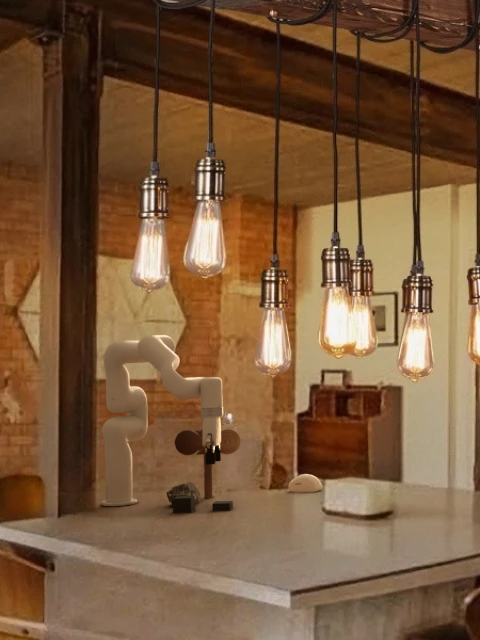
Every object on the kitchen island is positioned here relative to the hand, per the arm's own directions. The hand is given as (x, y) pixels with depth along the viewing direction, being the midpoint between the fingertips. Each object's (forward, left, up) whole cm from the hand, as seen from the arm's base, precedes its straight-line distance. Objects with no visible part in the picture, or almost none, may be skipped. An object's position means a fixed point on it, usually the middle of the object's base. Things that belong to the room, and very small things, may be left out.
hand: (213, 462), depth 376 cm
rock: (-18, -14, -16) cm, 28 cm away
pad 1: (+1, -10, -14) cm, 17 cm away
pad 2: (-1, +3, -16) cm, 16 cm away
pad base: (+1, -10, -16) cm, 19 cm away
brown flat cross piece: (-31, -8, -16) cm, 36 cm away
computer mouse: (-42, +27, -16) cm, 53 cm away
